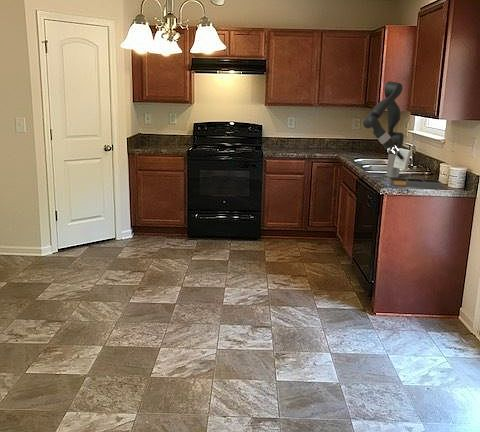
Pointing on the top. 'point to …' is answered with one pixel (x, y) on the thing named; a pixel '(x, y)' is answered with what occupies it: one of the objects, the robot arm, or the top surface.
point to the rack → (415, 183)
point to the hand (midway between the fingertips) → (401, 157)
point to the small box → (402, 162)
